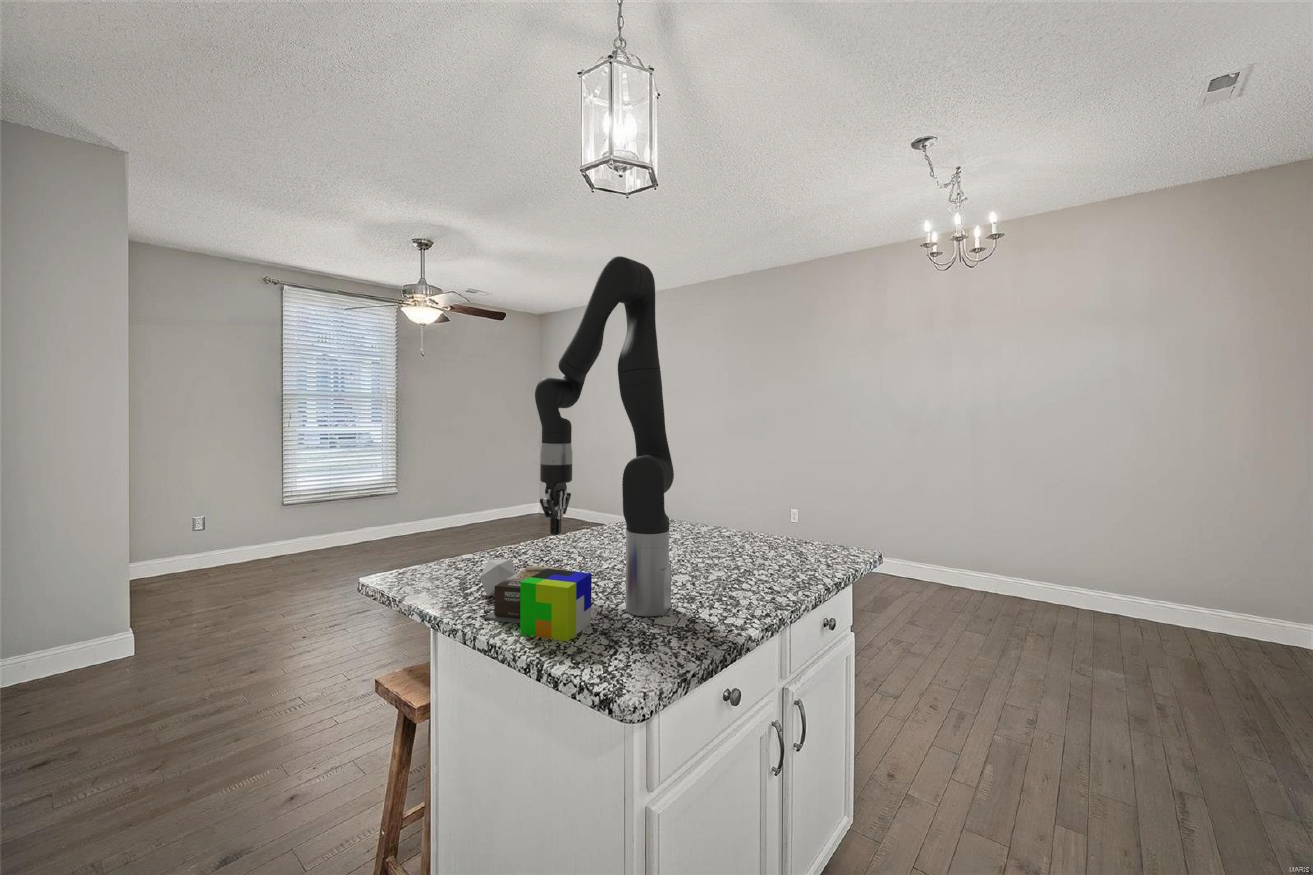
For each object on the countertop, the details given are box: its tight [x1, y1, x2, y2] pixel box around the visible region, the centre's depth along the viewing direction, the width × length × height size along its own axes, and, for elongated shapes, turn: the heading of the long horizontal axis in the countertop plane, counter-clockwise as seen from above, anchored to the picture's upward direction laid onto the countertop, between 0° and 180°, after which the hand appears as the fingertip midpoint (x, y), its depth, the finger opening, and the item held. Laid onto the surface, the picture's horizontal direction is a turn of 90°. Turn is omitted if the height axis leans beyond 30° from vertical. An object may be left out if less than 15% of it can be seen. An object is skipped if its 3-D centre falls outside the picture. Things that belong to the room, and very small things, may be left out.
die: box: [479, 558, 517, 597], centre depth 125 cm, size 8×9×10 cm
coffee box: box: [493, 565, 566, 618], centre depth 116 cm, size 9×6×16 cm
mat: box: [484, 610, 520, 624], centre depth 116 cm, size 9×16×1 cm, turn 165°
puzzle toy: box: [519, 569, 593, 643], centre depth 105 cm, size 10×10×10 cm
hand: (555, 534), depth 129 cm, fingers closed
